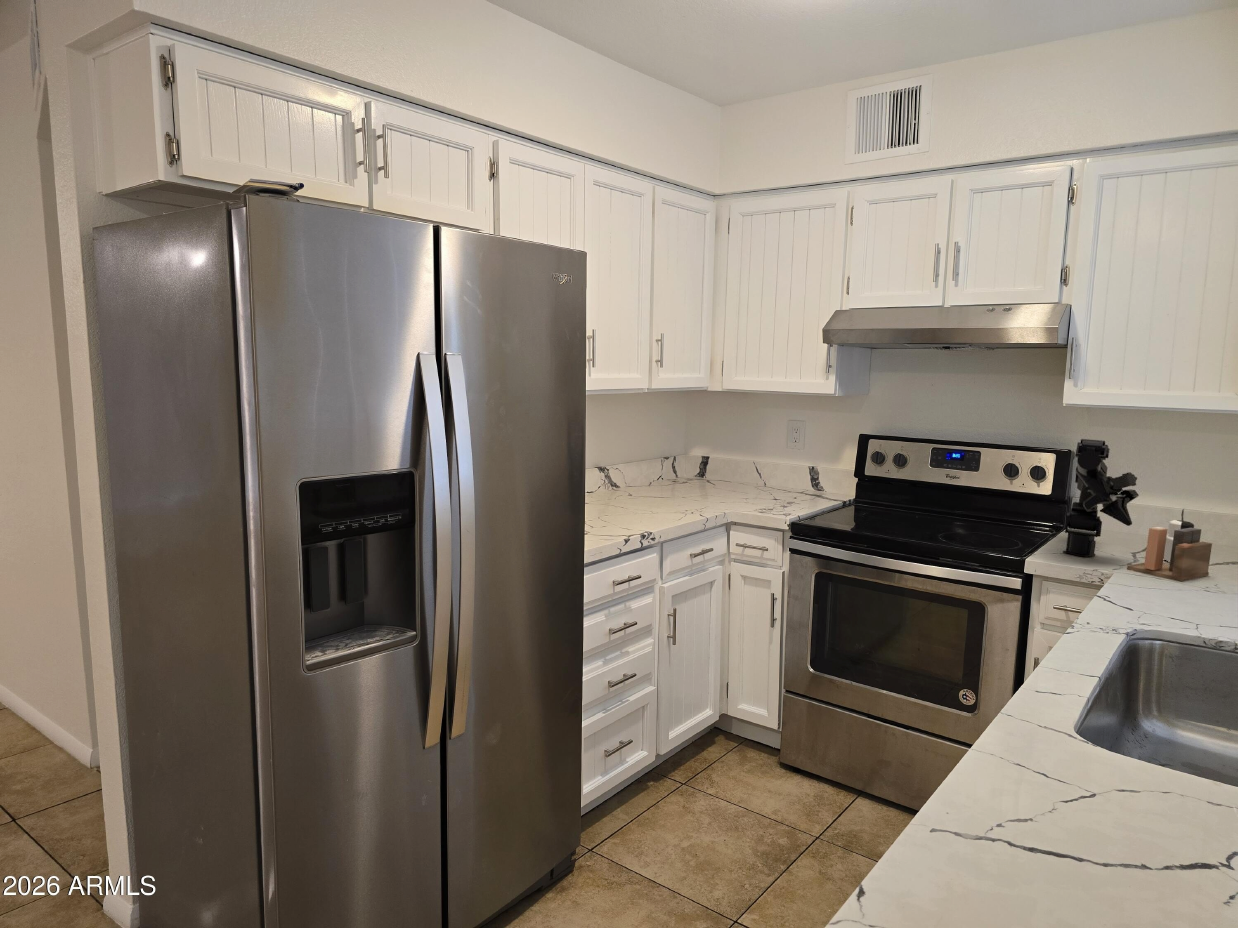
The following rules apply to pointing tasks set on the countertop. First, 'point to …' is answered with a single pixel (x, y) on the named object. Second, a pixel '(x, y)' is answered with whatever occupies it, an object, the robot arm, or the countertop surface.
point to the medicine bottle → (1169, 539)
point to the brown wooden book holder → (1183, 557)
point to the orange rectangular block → (1155, 548)
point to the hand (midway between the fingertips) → (1130, 524)
